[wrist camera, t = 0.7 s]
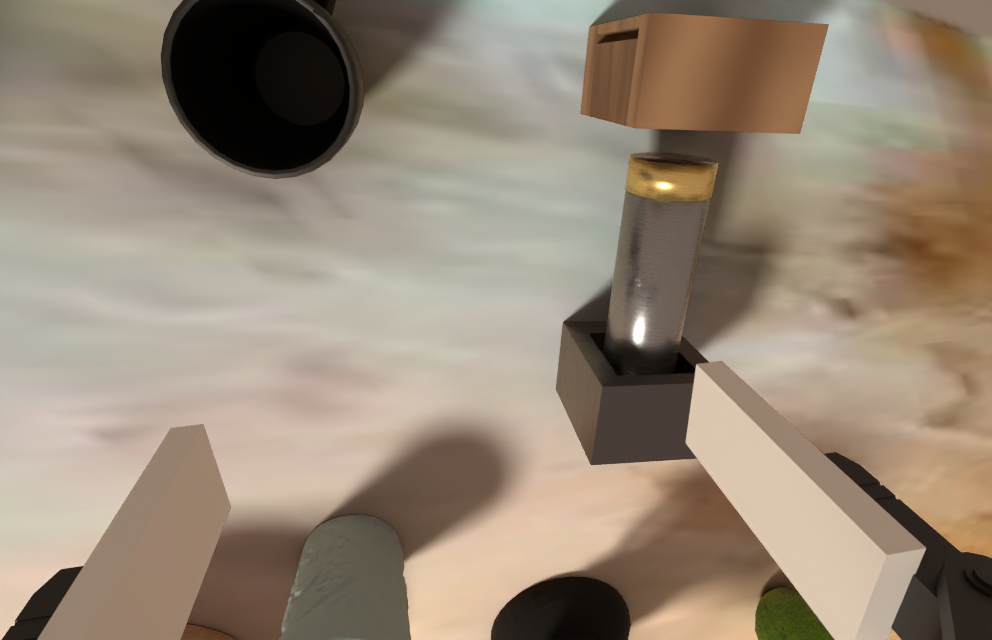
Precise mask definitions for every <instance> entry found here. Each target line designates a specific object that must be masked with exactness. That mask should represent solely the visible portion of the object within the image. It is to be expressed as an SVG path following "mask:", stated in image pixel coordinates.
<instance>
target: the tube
mask: <svg viewBox="0 0 992 640" xmlns="http://www.w3.org/2000/svg"><path fill="white" fill-rule="evenodd" d="M718 164H719V162H718V161H716V160H713V159H709V158H704V157H698V156H691V155H683V154H672V153H634V154H631V155H630V158H629V165H628V173H627V180H626V187H625V190H626V192H625V199H624V206H623V214H622V221H621V228H620V235H619V242H618V249H617V256H616V263H615V270H614V277H613V284H612V291H611V298H610V305H609V312H608V319H607V326H606V333H605V340H604V347H603V356H604V357H605V359H606V360H607V362H608V363H609V365H610V366H611V367H612V369H613V370H614V372H615V373H616V375H617V376H635V375H661V374H674V371H675V366H676V361H677V357H678V352H679V347H680V342H681V337H682V333H683V328H684V323H685V318H686V313H687V309H688V304H689V299H690V294H691V289H692V284H693V280H694V275H695V270H696V265H697V260H698V256H699V251H700V246H701V241H702V236H703V232H704V227H705V222H706V217H707V212H708V208H709V203H710V199H711V197H712V193H713V188H714V183H715V178H716V174H717V169H718Z"/></svg>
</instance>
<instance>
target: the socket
mask: <svg viewBox="0 0 992 640" xmlns="http://www.w3.org/2000/svg"><path fill="white" fill-rule="evenodd" d="M828 26H829V24H815V23H801V22H786V21H771V20H757V19H742V18H728V17H713V16H698V15H684V14H669V13H655V12H651V13H647V14H643V15H638V16H634V17H630V18H625V19H621V20H617V21H613V22H608V23H604V24H600V25H596V26H591V27H589V35H588V45H587V55H586V65H585V75H584V84H583V94H582V104H581V114H583V115H587V116H590V117H594V118H598V119H602V120H606V121H610V122H614V123H617V124H621V125H625V126H629V127H633V128H645V129H674V130H703V131H733V132H762V133H791V134H800V132H801V128H802V124H803V120H804V117H805V113H806V109H807V105H808V101H809V98H810V94H811V90H812V86H813V82H814V79H815V75H816V71H817V67H818V64H819V60H820V56H821V52H822V48H823V45H824V41H825V37H826V33H827V29H828Z"/></svg>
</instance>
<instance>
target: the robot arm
mask: <svg viewBox="0 0 992 640" xmlns="http://www.w3.org/2000/svg"><path fill="white" fill-rule="evenodd" d="M685 443H686V444H687V446H688V447H689V448H690V450H691V451H692V452H693V454H694V455H695V456H696V458H697V459H698V460H699V461H700V463H701V464H702V465H703V467H704V468H705V469H706V471H707V472H708V473H709V475H710V476H711V477H712V479H713V480H714V481H715V483H716V484H717V485H718V487H719V488H720V489H721V490H722V492H723V493H724V494H725V496H726V497H727V498H728V500H729V501H730V502H731V504H732V505H733V506H734V508H735V509H736V510H737V512H738V513H739V514H740V516H741V517H742V518H743V519H744V521H745V522H746V523H747V525H748V526H749V527H750V529H751V530H752V531H753V533H754V534H755V535H756V537H757V538H758V539H759V541H760V542H761V543H762V545H763V546H764V547H765V548H766V550H767V551H768V552H769V554H770V555H771V556H772V558H773V559H774V560H775V562H776V563H777V564H778V566H779V567H780V568H781V570H782V571H783V572H784V574H785V575H786V576H787V577H788V579H789V580H790V581H791V583H792V584H793V585H794V587H795V588H796V589H797V591H798V592H799V593H800V595H801V596H802V597H803V599H804V600H805V601H806V603H807V604H808V605H809V606H810V608H811V609H812V610H813V612H814V613H815V614H816V616H817V617H818V618H819V620H820V621H821V622H822V624H823V625H824V626H825V628H826V629H827V630H828V632H829V633H830V634H831V635H832V637H833V638H834V639H835V640H888V638H889V636H890V633H891V631H892V629H893V630H894V631H895V632H896V633H897V635H898V636H899V637H900V638H901V639H902V640H992V559H991V558H989V557H986V556H984V555H979V554H974V553H969V552H963V553H961V552H960V551H959V550H957V549H956V548H955V547H954V546H953V545H952V544H950V543H949V542H948V541H947V540H946V539H945V538H944V537H942V536H941V535H940V534H939V533H938V532H937V531H935V530H934V529H933V528H932V527H931V526H930V525H929V524H927V523H926V522H925V521H924V520H923V519H922V518H920V517H919V516H918V515H917V514H916V513H915V512H913V511H912V510H911V509H910V508H909V507H908V506H907V505H905V504H904V503H903V502H902V501H901V500H900V499H898V500H897V499H896V498H895V495H894V494H893V493H892V492H890V491H889V490H888V489H887V488H886V487H885V486H883V485H882V486H881V485H880V482H879V481H878V480H877V479H875V478H874V477H873V476H872V475H871V474H870V473H868V472H867V471H866V470H865V469H864V468H863V467H862V466H860V465H859V464H857V463H855V462H853V461H851V460H849V459H847V458H846V457H844V456H842V455H840V454H838V453H836V452H834V453H827V454H823V453H822V452H821V451H820V450H819V449H817V448H816V447H815V446H814V445H813V444H812V443H811V442H810V441H809V440H808V439H807V438H805V437H804V436H803V435H802V434H801V433H800V432H799V431H798V430H797V429H796V428H795V427H793V426H792V425H791V424H790V423H789V422H788V421H787V420H786V419H785V418H784V417H782V416H781V415H780V414H779V413H778V412H777V411H776V410H775V409H774V408H773V407H772V406H770V405H769V404H768V403H767V402H766V401H765V400H764V399H763V398H762V397H761V396H760V395H758V394H757V393H756V392H755V391H754V390H753V389H752V388H751V387H750V386H749V385H748V384H746V383H745V382H744V381H743V380H742V379H741V378H740V377H739V376H738V375H737V374H735V373H734V372H733V371H732V370H731V369H730V368H729V367H728V366H727V365H726V364H725V363H723V362H722V361H718V362H709V363H701V364H696V370H695V377H694V385H693V392H692V399H691V406H690V414H689V421H688V428H687V435H686V442H685ZM230 509H231V505H230V502H229V499H228V496H227V493H226V490H225V487H224V484H223V481H222V478H221V475H220V472H219V469H218V466H217V463H216V460H215V457H214V454H213V451H212V448H211V445H210V442H209V439H208V436H207V433H206V430H205V427H204V424H201V425H193V426H185V427H176V428H171V429H170V430H169V432H168V434H167V435H166V437H165V438H164V440H163V441H162V443H161V445H160V446H159V448H158V449H157V451H156V452H155V454H154V456H153V457H152V459H151V460H150V462H149V464H148V465H147V467H146V468H145V470H144V471H143V473H142V475H141V476H140V478H139V479H138V481H137V483H136V484H135V486H134V487H133V489H132V490H131V492H130V494H129V495H128V497H127V498H126V500H125V501H124V503H123V505H122V506H121V508H120V509H119V511H118V513H117V514H116V516H115V517H114V519H113V520H112V522H111V524H110V525H109V527H108V528H107V530H106V532H105V533H104V535H103V536H102V538H101V539H100V541H99V543H98V544H97V546H96V547H95V549H94V550H93V552H92V554H91V555H90V557H89V558H88V560H87V562H86V563H85V565H84V566H81V567H74V568H67V569H61V570H60V571H59V572H58V573H56V574H55V575H54V576H53V577H52V578H51V579H50V580H49V581H48V582H46V583H45V584H44V585H43V586H42V587H41V588H40V589H39V590H38V591H36V592H35V593H34V594H33V596H32V597H31V598H30V600H29V601H28V603H27V604H26V606H25V607H24V609H23V610H22V611H21V613H20V614H19V616H18V617H17V619H16V620H15V625H14V626H11V627H10V629H9V630H8V632H7V633H6V634H5V636H4V637H3V639H2V640H180V639H181V637H182V634H183V632H184V629H185V626H186V624H187V621H188V619H189V616H190V613H191V611H192V608H193V605H194V603H195V600H196V598H197V595H198V592H199V590H200V587H201V585H202V582H203V579H204V577H205V574H206V571H207V569H208V566H209V564H210V561H211V558H212V556H213V553H214V551H215V548H216V545H217V543H218V540H219V537H220V535H221V532H222V530H223V527H224V524H225V522H226V519H227V517H228V514H229V511H230Z"/></svg>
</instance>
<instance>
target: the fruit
mask: <svg viewBox="0 0 992 640" xmlns="http://www.w3.org/2000/svg"><path fill="white" fill-rule="evenodd" d="M755 631H756V634H757V637H758V640H835V639H834V638H833V637H832V635H831V634H830V633H829V632H828V630H827V629H826V628H825V626H824V625H823V624H822V622H821V621H820V620H819V618H818V617H817V616H816V614H815V613H814V612H813V610H812V609H811V608H810V606H809V605H808V604H807V603H806V601H805V600H804V599H803V597H802V596H801V595H800V593H799V592H798V591H797V590H795V589H792V588H786V587H780V588H775V589H772V590H770V591H769V592H767V593H766V594H765V595H764V596H763V597H762V598H761V599H760V601H759V604H758V606H757V610H756V621H755Z"/></svg>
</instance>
